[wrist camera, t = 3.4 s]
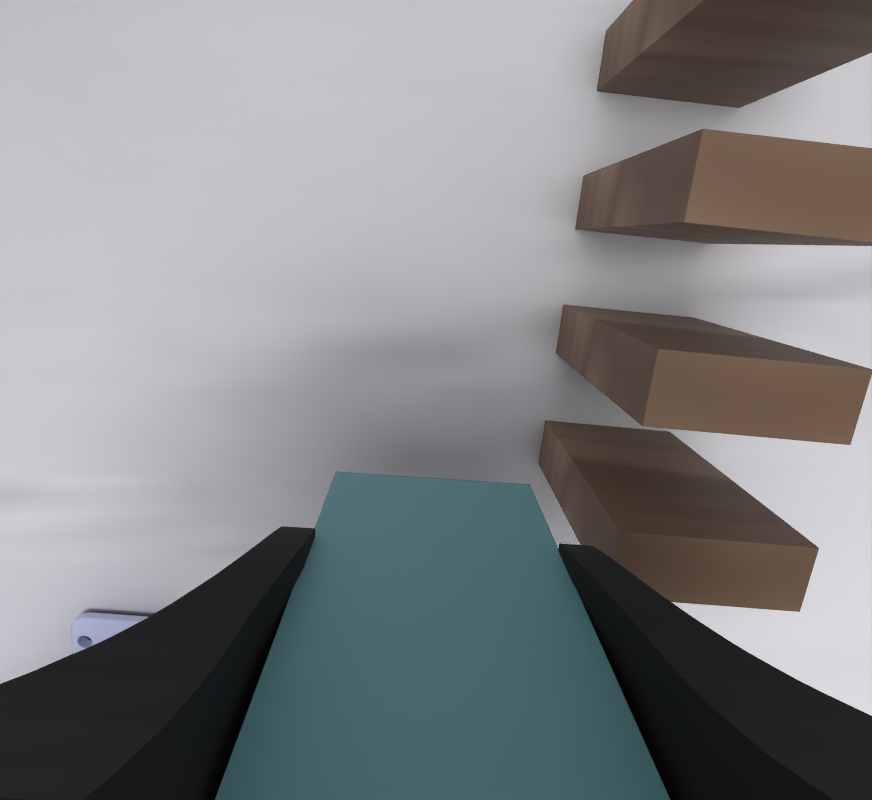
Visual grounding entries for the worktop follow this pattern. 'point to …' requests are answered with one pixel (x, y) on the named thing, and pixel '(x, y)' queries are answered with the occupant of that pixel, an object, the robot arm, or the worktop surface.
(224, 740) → the robot arm
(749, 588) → the domino
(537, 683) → the teal domino
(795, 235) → the domino
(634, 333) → the domino
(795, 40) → the domino
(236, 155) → the worktop surface
